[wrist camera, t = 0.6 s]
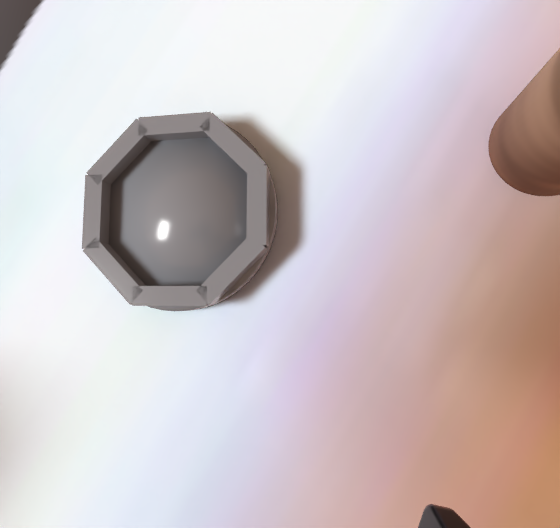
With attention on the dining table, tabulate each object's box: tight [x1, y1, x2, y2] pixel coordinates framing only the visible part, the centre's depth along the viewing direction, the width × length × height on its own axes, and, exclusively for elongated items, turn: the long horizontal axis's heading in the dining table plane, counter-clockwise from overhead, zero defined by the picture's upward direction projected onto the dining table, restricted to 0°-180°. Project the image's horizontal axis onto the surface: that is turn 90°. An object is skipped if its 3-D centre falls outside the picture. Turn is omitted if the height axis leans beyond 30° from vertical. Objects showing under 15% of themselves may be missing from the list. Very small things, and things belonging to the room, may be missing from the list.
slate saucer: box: [82, 112, 278, 311], centre depth 20 cm, size 11×11×2 cm
